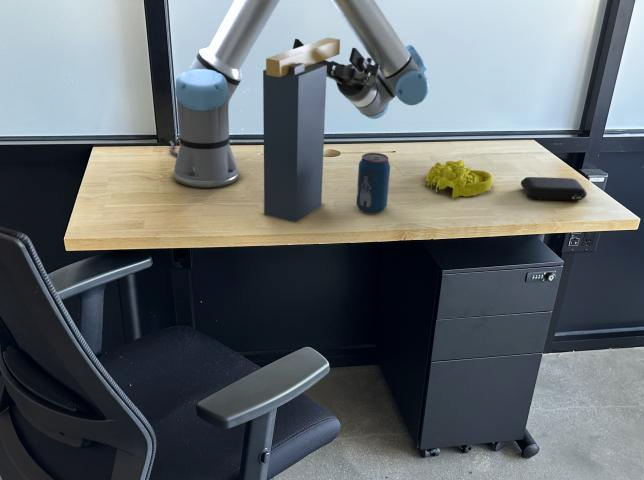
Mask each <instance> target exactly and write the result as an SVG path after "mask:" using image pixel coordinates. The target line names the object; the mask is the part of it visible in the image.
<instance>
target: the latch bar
mask: <svg viewBox="0 0 644 480" xmlns="http://www.w3.org/2000/svg"><path fill="white" fill-rule="evenodd" d="M292 49H293V48H292ZM292 49H289V50H287V51H283V52H281V53H278V54H275V55H272V56H269V57H265V67H266V68H265V69H266V75H270V76H275V77H281V76H284V75H287V74H289V67H290V66H292V65H295V64H298V63H303V64H304V68H305V67H307V66H310V65H313V64H315V63H318V62H320V61H323V60H326V61H327V60H328V59H331V58H333V57H336V56H338V55H340V52H341V51H340V50H341V39H340V38H335V37H334V38H333V37H325V38H323V39H319V40H316V41H313V42H310V43H308V44H304V46H301V47H298V48H296V49H293V50H292Z"/></svg>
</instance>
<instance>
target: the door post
mask: <svg viewBox="0 0 644 480" xmlns="http://www.w3.org/2000/svg"><path fill="white" fill-rule="evenodd" d="M326 72H327V65H323V64H317V63H315V64H313V65H310V66H307V67H305V68H304V64H303V63H298V64H295V65H292V66H290V67H289V74H287V75H284V76H281V77H275V76H270V75H266V68H265V69H263V70H262V100H263V101H262V103H263V104H262V105H263V106H262V107H263V109H262V110H263V111H262V112H263V113H262V114H263V117H262V118H263V119H262V120H263V122H262V123H263V215H264V216H268V217H271V218H276V219H281V220H285V221H289V222H293V223H298V222H299V221H300V220H302V219H303V218H304V217H306V216H307V215H309V214H310V213H311V212H314V211H315V210H316V209H318V208H319V207H320V206H322V200H323V199H322V197H323V196H322V195H323V175H324V173H323V170H324V149H325V148H324V145H325V124H326V123H325V119H326V96H327V95H326V94H327V76H326Z"/></svg>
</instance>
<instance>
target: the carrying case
mask: <svg viewBox="0 0 644 480" xmlns="http://www.w3.org/2000/svg"><path fill="white" fill-rule="evenodd" d="M520 186H521V187H522V188H523V190H524V192H525V194H526V195H527V197H529V198H530V199H533V200H549V201H550V200H551V201H582V200H583V199H585V198H586V197H587V195H588V192H587V191H586V189H585V188H584V186H582V184H581V182H579V181H578V180H577V179H575V178H573V177H572V178H569V177H544V176H543V177H541V176H526V177H524V178H523V179H522V180H521V181H520Z"/></svg>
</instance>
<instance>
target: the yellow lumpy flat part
mask: <svg viewBox="0 0 644 480" xmlns="http://www.w3.org/2000/svg"><path fill="white" fill-rule="evenodd" d="M424 183H425V184H424V185H425V186H426V185H427V187H429V186H431V185H433V186H436V188H435V193H437V192H438V189H439V191H440V190H444V189H448V188H447V187H449V188H451V189H452V195H451V198H452V199H454V198H458V197H462V196H463V197H471V196H477V195H482V194H484V193H486V192H489V191H490V190H491V189H492V186H493V175H492V174H491V173H490V172H488V171H485V170H478V169H472V168H471V167H466V164H465V160H462V159H459V160H457V161H453V160H448V161H446V162H445V164H444V163H441V162H439V161H437V162H436V163H435V164H434V166H432V167H431V168H430V169H429V171H428V172H427V175H426V178H425V182H424ZM430 189H431V190H432V187H430Z"/></svg>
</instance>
